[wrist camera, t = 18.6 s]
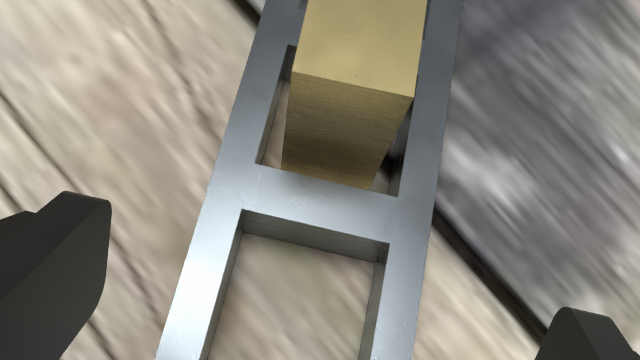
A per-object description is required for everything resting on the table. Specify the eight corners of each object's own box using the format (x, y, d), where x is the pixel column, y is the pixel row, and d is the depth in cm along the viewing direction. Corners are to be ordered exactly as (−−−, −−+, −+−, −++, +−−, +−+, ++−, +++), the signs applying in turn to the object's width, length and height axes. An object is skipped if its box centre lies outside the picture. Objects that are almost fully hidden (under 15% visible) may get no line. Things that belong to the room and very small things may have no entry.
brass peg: (364, 196, 27) (413, 97, 19) (279, 178, 27) (291, 71, 19) (376, 121, 29) (427, -1, 20) (296, 104, 29) (314, -26, 20)
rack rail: (382, 439, 23) (399, 442, 21) (159, 388, 23) (146, 384, 20) (453, -24, 33) (471, -65, 30) (295, -62, 33) (299, -107, 30)
